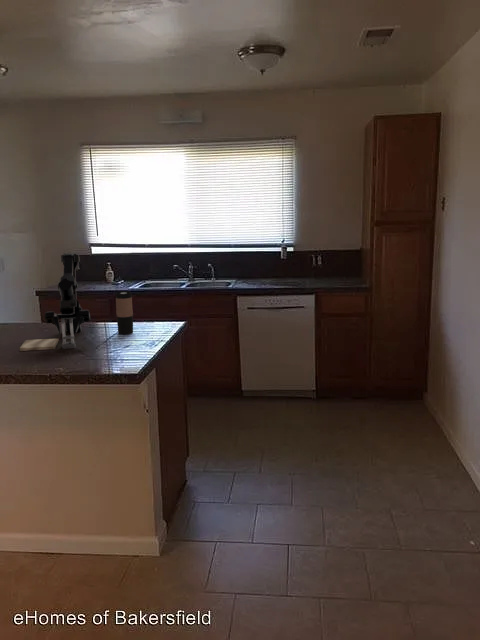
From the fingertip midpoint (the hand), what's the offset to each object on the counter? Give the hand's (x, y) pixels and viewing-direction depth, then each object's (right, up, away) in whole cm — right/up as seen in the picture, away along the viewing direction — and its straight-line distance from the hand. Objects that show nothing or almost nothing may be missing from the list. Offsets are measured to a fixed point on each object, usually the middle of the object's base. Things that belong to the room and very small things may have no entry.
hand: (67, 332), depth 228 cm
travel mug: (+19, -1, +27) cm, 34 cm away
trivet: (-14, -6, +5) cm, 16 cm away
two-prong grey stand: (0, -6, +3) cm, 7 cm away
